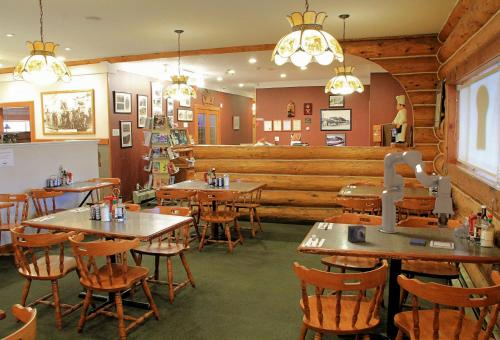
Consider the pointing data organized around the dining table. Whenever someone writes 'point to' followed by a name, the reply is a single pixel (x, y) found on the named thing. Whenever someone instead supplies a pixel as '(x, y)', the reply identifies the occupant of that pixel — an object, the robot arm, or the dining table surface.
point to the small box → (356, 234)
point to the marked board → (442, 245)
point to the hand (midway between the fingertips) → (443, 223)
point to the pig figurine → (462, 230)
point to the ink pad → (417, 242)
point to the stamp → (443, 222)
